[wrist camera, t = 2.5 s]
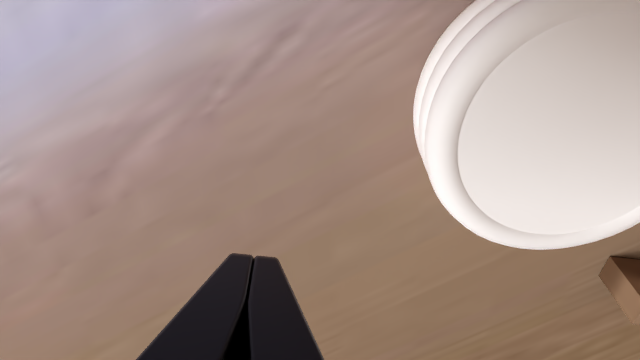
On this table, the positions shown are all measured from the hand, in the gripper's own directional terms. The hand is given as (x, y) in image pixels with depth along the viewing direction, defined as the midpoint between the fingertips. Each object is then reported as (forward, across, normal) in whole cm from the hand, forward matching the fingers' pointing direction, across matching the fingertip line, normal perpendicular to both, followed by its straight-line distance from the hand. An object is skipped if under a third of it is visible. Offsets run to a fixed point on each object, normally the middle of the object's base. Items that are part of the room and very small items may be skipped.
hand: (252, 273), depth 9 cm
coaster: (+11, -10, 0) cm, 15 cm away
